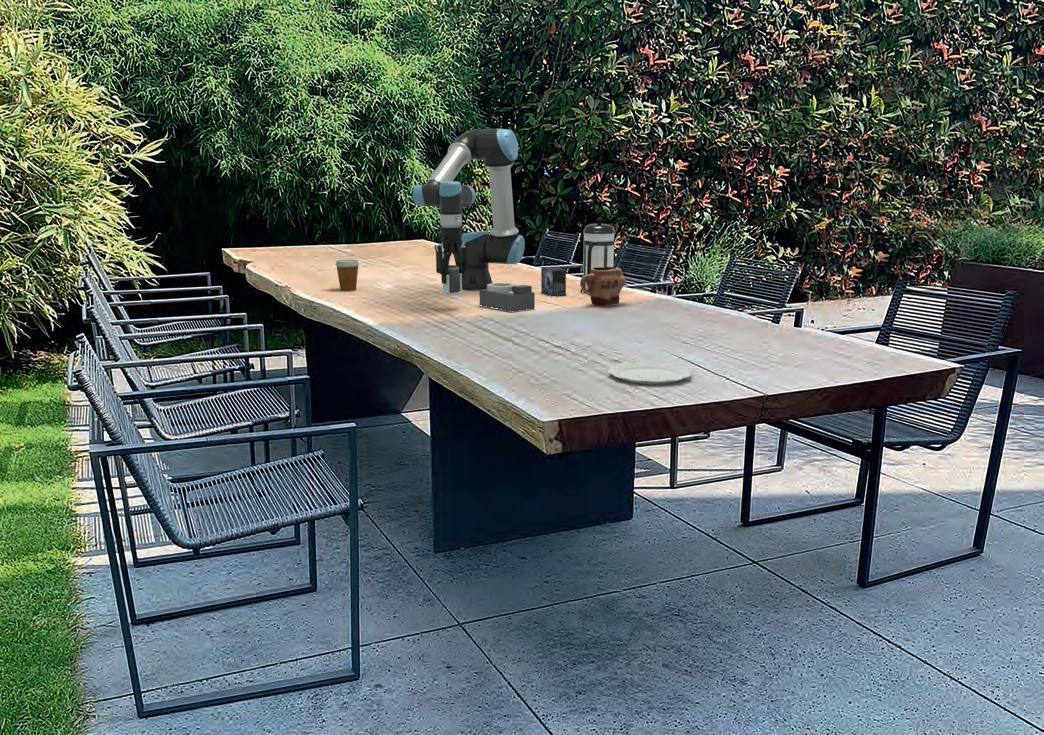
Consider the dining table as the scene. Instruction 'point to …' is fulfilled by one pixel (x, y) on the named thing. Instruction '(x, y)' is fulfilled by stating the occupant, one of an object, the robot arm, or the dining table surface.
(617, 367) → the plate
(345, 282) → the disposable coffee cup
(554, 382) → the dining table surface
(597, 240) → the coffee press
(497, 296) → the camera body
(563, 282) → the small box
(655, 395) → the dining table surface
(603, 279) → the brown clay mug
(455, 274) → the lens
